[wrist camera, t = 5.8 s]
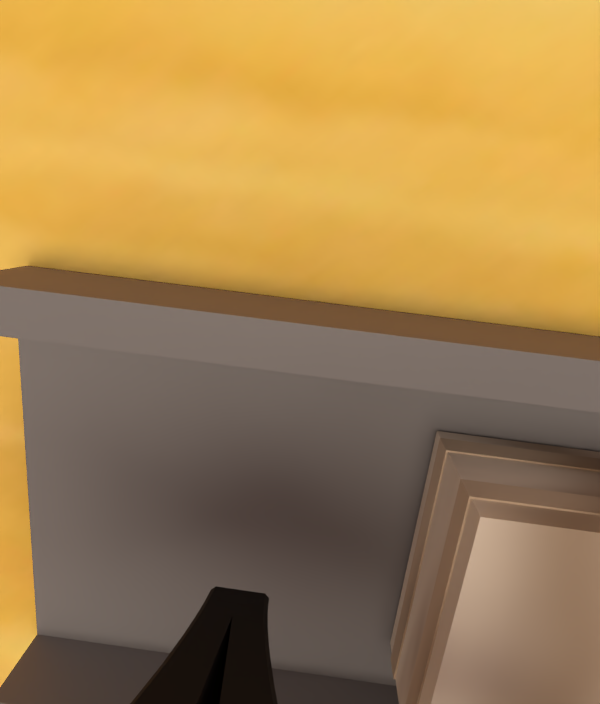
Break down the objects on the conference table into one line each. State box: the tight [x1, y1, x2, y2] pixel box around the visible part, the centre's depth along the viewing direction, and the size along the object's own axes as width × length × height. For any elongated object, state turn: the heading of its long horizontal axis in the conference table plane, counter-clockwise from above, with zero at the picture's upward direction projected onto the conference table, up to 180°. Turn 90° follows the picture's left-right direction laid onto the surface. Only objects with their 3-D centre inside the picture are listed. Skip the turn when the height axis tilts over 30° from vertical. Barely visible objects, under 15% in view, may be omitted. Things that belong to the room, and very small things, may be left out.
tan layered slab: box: [390, 431, 600, 704], centre depth 12 cm, size 6×8×4 cm
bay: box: [0, 266, 600, 704], centre depth 14 cm, size 21×14×3 cm
